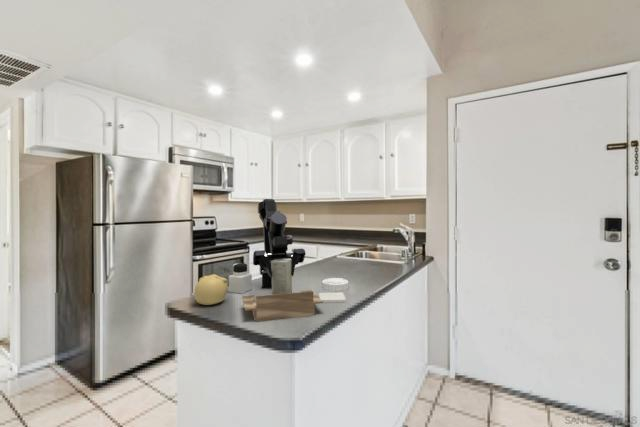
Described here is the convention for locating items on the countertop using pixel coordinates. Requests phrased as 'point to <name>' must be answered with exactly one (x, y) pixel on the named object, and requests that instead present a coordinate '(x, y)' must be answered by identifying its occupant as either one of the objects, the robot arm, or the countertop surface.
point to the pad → (332, 297)
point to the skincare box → (281, 276)
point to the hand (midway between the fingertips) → (282, 276)
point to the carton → (281, 305)
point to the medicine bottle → (240, 279)
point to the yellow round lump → (211, 289)
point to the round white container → (335, 284)
